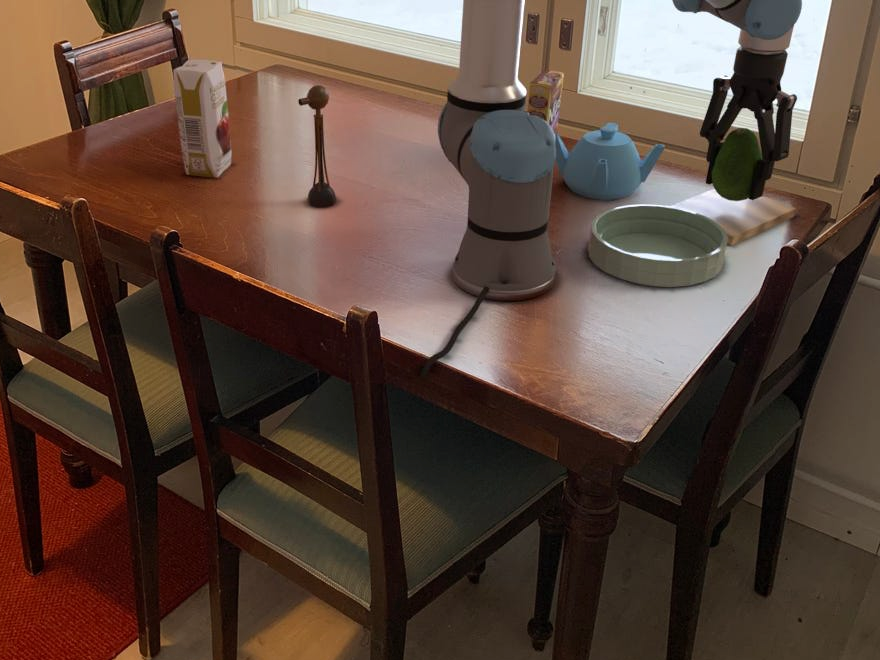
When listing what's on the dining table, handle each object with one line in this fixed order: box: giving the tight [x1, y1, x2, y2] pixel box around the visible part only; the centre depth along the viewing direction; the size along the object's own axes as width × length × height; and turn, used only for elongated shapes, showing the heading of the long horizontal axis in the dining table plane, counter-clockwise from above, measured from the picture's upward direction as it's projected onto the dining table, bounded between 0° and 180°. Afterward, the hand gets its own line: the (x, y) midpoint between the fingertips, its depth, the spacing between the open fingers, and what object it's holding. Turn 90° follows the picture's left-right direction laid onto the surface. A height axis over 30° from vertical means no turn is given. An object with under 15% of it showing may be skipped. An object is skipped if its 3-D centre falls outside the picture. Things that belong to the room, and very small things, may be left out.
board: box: [669, 187, 797, 246], centre depth 169 cm, size 18×14×2 cm
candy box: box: [526, 69, 565, 135], centre depth 186 cm, size 9×4×15 cm, turn 157°
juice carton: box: [173, 58, 233, 179], centre depth 179 cm, size 8×9×19 cm
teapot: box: [555, 122, 666, 201], centre depth 176 cm, size 15×15×11 cm
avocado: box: [712, 127, 762, 201], centre depth 164 cm, size 8×8×12 cm
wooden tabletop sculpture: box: [298, 84, 337, 209], centre depth 167 cm, size 6×5×20 cm
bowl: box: [587, 203, 728, 288], centre depth 155 cm, size 20×20×4 cm
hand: (733, 189), depth 166 cm, fingers closed on avocado, 8 cm apart
